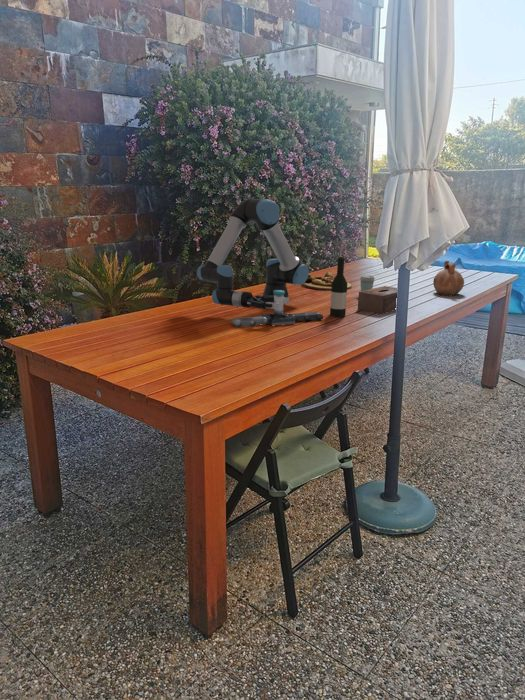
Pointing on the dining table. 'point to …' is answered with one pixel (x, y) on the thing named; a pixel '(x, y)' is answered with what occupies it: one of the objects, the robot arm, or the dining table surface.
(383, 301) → the tissue box cover
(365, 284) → the coffee cup
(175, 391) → the dining table surface
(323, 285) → the wooden plate with food
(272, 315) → the chain ends
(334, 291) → the wine bottle
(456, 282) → the jug
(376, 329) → the dining table surface
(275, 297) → the steel pin
